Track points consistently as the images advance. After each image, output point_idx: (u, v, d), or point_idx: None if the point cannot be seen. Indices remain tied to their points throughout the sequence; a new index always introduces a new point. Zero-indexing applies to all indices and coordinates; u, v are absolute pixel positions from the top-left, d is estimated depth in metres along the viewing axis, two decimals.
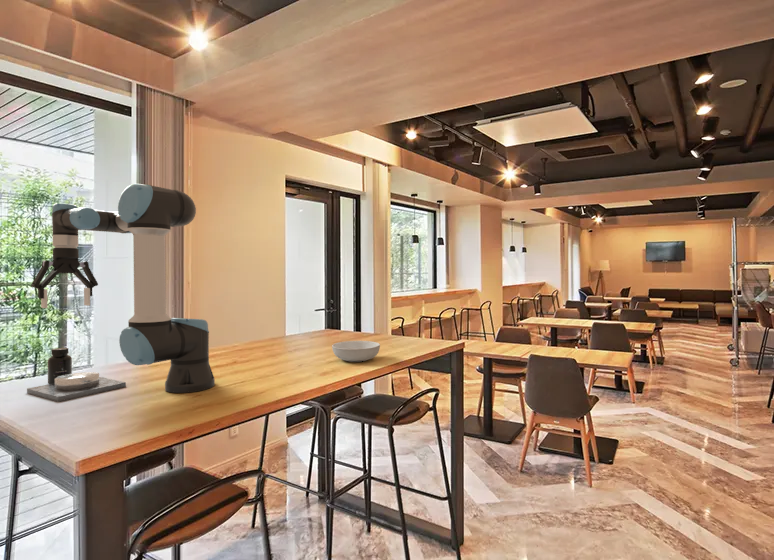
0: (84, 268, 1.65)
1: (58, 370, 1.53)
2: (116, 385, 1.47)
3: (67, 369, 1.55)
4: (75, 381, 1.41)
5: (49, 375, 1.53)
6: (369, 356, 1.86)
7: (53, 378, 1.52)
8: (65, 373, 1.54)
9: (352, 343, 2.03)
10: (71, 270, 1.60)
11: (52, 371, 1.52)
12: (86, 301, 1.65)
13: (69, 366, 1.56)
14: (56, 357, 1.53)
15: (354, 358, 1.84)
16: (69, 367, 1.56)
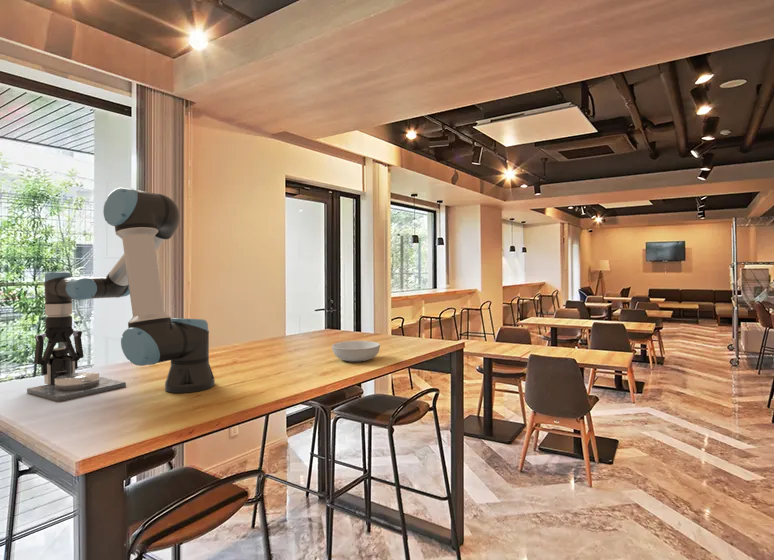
0: (75, 338, 1.60)
1: (58, 370, 1.53)
2: (116, 385, 1.47)
3: (67, 369, 1.55)
4: (75, 381, 1.41)
5: None
6: (369, 356, 1.86)
7: (52, 378, 1.52)
8: (65, 373, 1.54)
9: (352, 343, 2.03)
10: (64, 339, 1.56)
11: (52, 371, 1.52)
12: None
13: (69, 366, 1.56)
14: (56, 357, 1.53)
15: (354, 358, 1.84)
16: (69, 367, 1.56)
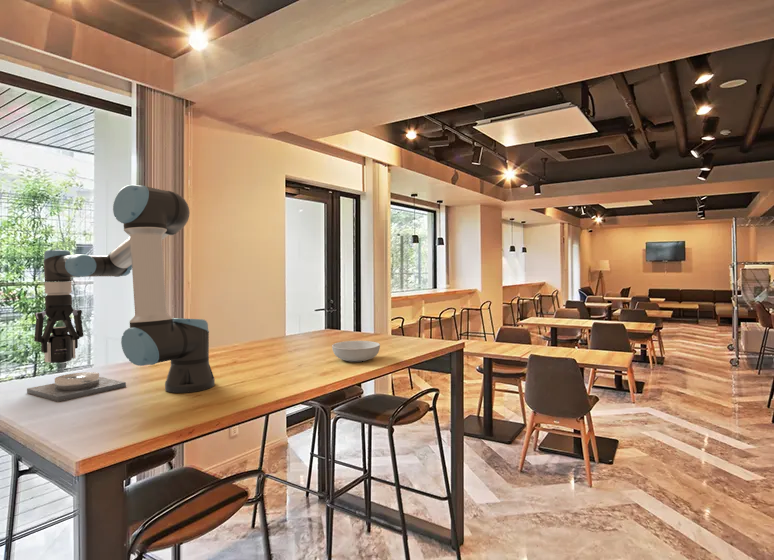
0: (75, 317, 1.60)
1: (58, 348, 1.53)
2: (116, 385, 1.47)
3: (67, 347, 1.55)
4: (75, 381, 1.41)
5: None
6: (369, 356, 1.86)
7: (53, 356, 1.52)
8: (65, 351, 1.54)
9: (352, 343, 2.03)
10: (64, 317, 1.56)
11: (52, 350, 1.52)
12: None
13: (69, 344, 1.55)
14: (56, 335, 1.53)
15: (354, 358, 1.84)
16: (69, 345, 1.55)
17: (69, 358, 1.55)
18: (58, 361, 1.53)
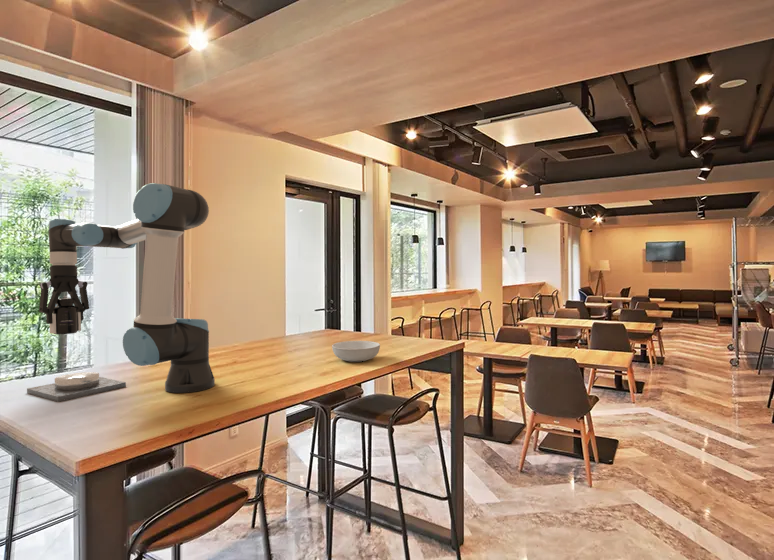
0: (81, 289, 1.56)
1: (63, 319, 1.49)
2: (116, 385, 1.47)
3: (72, 319, 1.51)
4: (75, 381, 1.41)
5: None
6: (369, 356, 1.86)
7: (58, 327, 1.49)
8: (70, 323, 1.51)
9: (352, 343, 2.03)
10: (70, 288, 1.53)
11: (57, 321, 1.49)
12: (77, 326, 1.55)
13: (74, 316, 1.52)
14: (61, 306, 1.50)
15: (354, 358, 1.84)
16: (74, 317, 1.52)
17: (74, 330, 1.52)
18: (63, 332, 1.49)
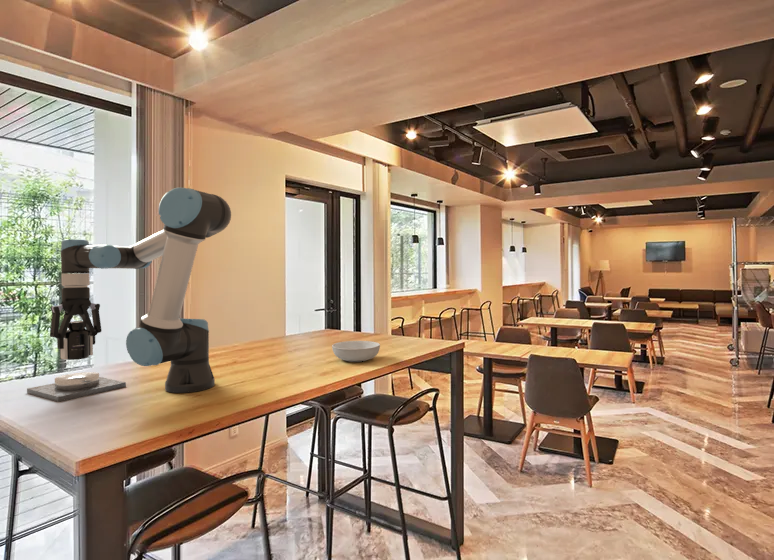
0: (93, 311, 1.50)
1: (75, 344, 1.43)
2: (116, 385, 1.47)
3: (84, 343, 1.45)
4: (75, 381, 1.41)
5: None
6: (369, 356, 1.86)
7: (69, 352, 1.43)
8: (82, 347, 1.44)
9: (352, 343, 2.03)
10: (82, 311, 1.46)
11: (68, 346, 1.43)
12: None
13: (86, 340, 1.46)
14: (73, 330, 1.43)
15: (354, 358, 1.84)
16: (86, 341, 1.46)
17: (86, 355, 1.46)
18: (75, 358, 1.43)
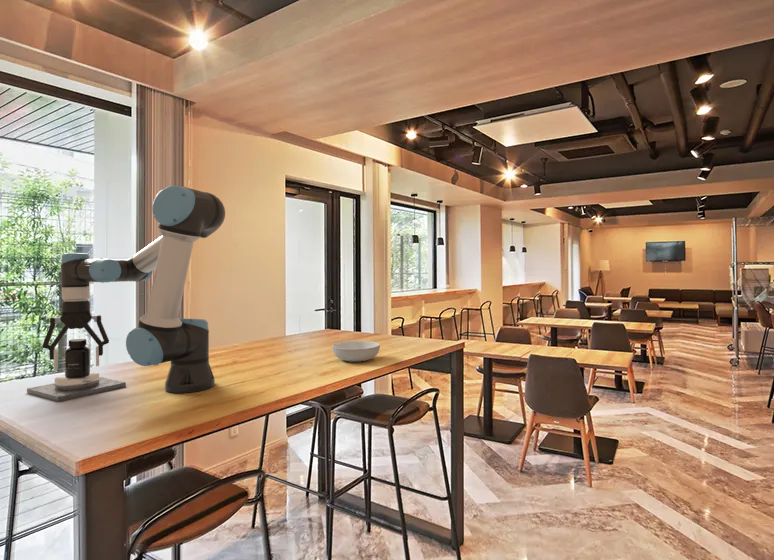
0: (97, 323, 1.49)
1: (69, 363, 1.43)
2: (116, 385, 1.47)
3: (80, 362, 1.44)
4: (75, 381, 1.41)
5: None
6: (369, 356, 1.86)
7: (66, 371, 1.43)
8: (77, 366, 1.43)
9: (352, 343, 2.03)
10: (80, 325, 1.45)
11: (65, 364, 1.43)
12: (96, 361, 1.48)
13: (82, 359, 1.44)
14: (70, 348, 1.44)
15: (354, 358, 1.84)
16: (82, 360, 1.44)
17: (82, 374, 1.44)
18: (70, 376, 1.43)
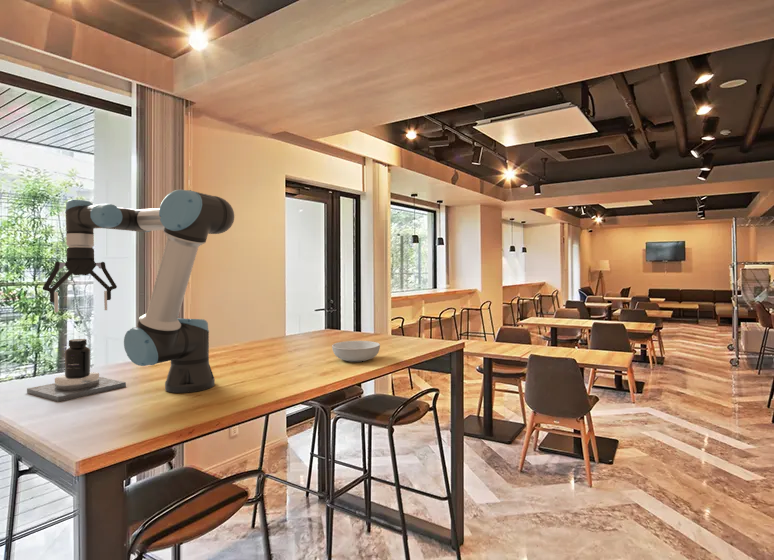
0: None
1: (69, 363, 1.43)
2: (116, 385, 1.47)
3: (80, 362, 1.44)
4: (75, 381, 1.41)
5: (65, 367, 1.44)
6: (369, 356, 1.86)
7: (66, 370, 1.43)
8: (77, 366, 1.43)
9: (352, 343, 2.03)
10: (85, 271, 1.48)
11: (65, 364, 1.43)
12: None
13: (82, 359, 1.44)
14: (70, 348, 1.44)
15: (354, 358, 1.84)
16: (82, 360, 1.44)
17: (82, 374, 1.44)
18: (70, 376, 1.43)
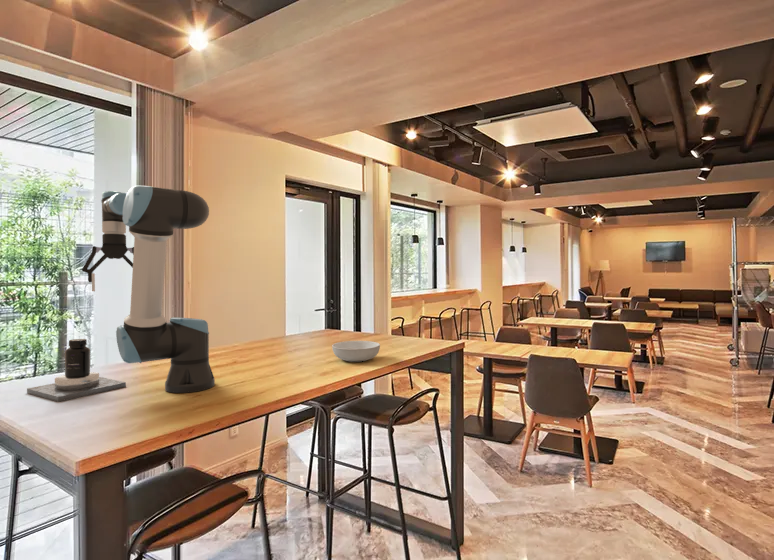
0: (133, 254, 1.69)
1: (69, 363, 1.43)
2: (116, 385, 1.47)
3: (80, 362, 1.44)
4: (75, 381, 1.41)
5: (65, 367, 1.44)
6: (369, 356, 1.86)
7: (66, 370, 1.43)
8: (77, 366, 1.43)
9: (352, 343, 2.03)
10: (118, 255, 1.66)
11: (65, 363, 1.43)
12: None
13: (82, 359, 1.44)
14: (70, 348, 1.44)
15: (354, 358, 1.84)
16: (82, 360, 1.44)
17: (82, 374, 1.44)
18: (70, 376, 1.43)
